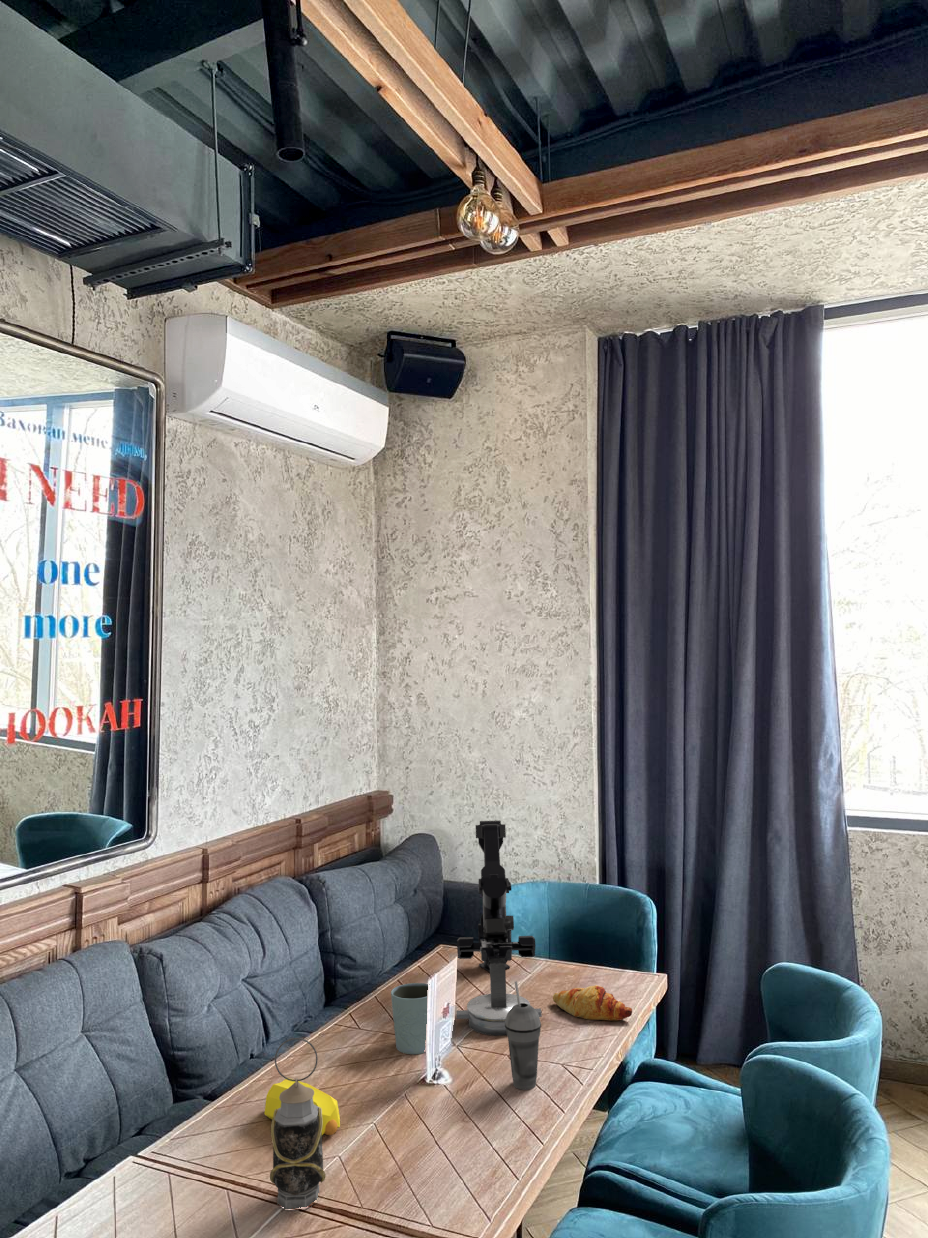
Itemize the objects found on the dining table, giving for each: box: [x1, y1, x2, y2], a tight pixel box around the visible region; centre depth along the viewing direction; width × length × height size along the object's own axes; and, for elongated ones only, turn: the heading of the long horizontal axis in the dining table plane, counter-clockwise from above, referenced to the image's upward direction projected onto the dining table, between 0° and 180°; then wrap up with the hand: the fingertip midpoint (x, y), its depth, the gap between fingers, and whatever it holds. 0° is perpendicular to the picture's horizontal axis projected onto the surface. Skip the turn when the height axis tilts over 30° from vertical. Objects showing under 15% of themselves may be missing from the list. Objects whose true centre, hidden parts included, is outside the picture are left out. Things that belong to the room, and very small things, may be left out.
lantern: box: [269, 1037, 326, 1210], centre depth 146 cm, size 9×8×25 cm
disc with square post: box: [466, 958, 531, 1021], centre depth 214 cm, size 15×15×11 cm
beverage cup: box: [505, 980, 542, 1091], centre depth 183 cm, size 7×7×20 cm
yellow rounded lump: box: [263, 1077, 341, 1136], centre depth 170 cm, size 18×7×8 cm
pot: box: [455, 1008, 543, 1037], centre depth 213 cm, size 14×20×3 cm
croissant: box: [552, 984, 633, 1022], centre depth 218 cm, size 21×10×8 cm, turn 54°
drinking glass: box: [390, 982, 429, 1055], centre depth 202 cm, size 10×10×12 cm
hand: (497, 981), depth 216 cm, fingers closed, pressing on disc with square post
